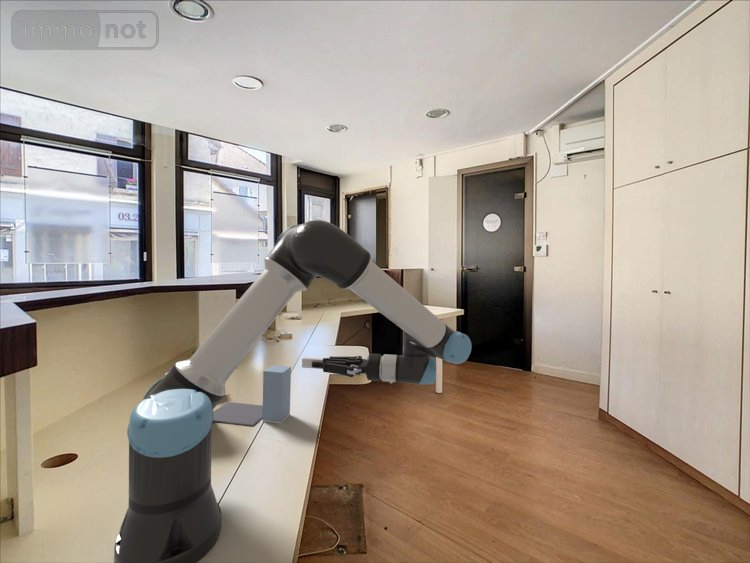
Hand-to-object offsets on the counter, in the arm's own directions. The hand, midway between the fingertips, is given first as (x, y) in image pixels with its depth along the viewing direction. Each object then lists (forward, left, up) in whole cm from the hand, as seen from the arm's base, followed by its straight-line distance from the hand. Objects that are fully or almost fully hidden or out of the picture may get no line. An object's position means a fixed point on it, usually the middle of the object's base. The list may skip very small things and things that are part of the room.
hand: (303, 362), depth 100 cm
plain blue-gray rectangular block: (0, +8, -18) cm, 19 cm away
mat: (0, +20, -18) cm, 26 cm away
